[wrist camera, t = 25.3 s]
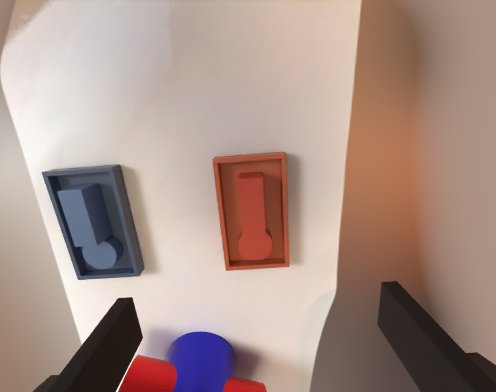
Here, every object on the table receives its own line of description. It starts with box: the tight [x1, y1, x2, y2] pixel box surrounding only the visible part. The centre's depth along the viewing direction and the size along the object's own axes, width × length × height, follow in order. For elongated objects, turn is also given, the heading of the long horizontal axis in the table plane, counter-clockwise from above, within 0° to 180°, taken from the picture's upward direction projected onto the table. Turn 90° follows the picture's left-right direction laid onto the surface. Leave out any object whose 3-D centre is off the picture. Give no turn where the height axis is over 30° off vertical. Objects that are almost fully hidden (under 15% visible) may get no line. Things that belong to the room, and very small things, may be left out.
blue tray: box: [42, 165, 145, 280], centre depth 32 cm, size 16×9×2 cm, turn 4°
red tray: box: [212, 152, 289, 271], centre depth 32 cm, size 16×9×2 cm, turn 4°
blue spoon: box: [57, 183, 123, 269], centre depth 31 cm, size 12×5×4 cm, turn 4°
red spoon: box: [238, 172, 273, 260], centre depth 31 cm, size 12×5×4 cm, turn 4°
